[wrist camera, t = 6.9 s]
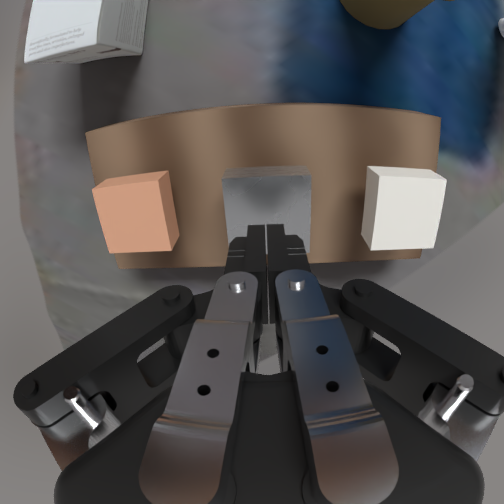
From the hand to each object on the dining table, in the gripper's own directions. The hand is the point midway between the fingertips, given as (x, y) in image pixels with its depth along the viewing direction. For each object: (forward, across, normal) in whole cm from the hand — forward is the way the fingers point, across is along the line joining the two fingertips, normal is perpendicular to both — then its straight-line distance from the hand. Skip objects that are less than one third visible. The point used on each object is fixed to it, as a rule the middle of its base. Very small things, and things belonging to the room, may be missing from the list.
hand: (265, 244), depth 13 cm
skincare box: (+11, +11, -14) cm, 21 cm away
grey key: (+5, 0, 0) cm, 5 cm away
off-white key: (+5, -8, 0) cm, 10 cm away
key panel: (+11, 0, 0) cm, 11 cm away
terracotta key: (+6, +8, 0) cm, 10 cm away
